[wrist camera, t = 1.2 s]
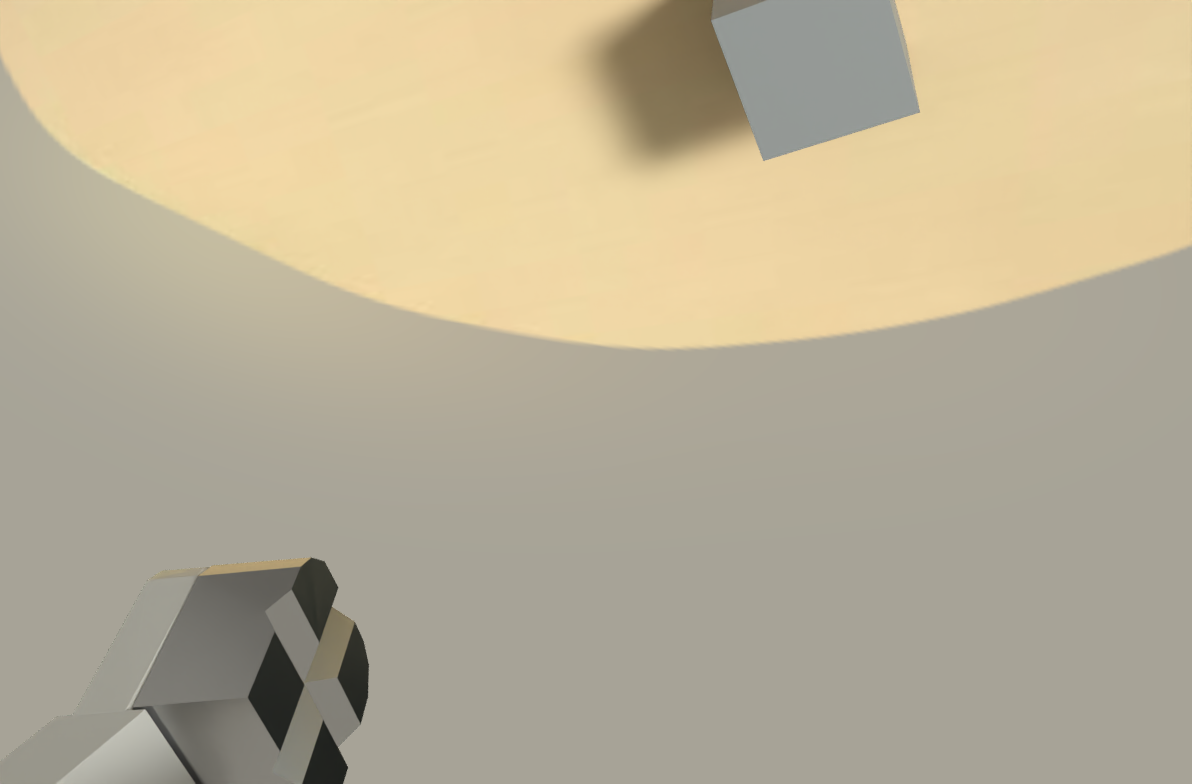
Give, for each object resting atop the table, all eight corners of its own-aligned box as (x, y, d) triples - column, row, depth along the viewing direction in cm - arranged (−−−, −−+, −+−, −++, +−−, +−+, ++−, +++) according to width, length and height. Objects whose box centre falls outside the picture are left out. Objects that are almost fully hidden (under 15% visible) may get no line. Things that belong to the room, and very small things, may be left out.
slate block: (868, -100, 35) (878, -41, 32) (906, 42, 38) (919, 112, 34) (717, -43, 37) (710, 20, 33) (764, 89, 40) (763, 160, 36)
